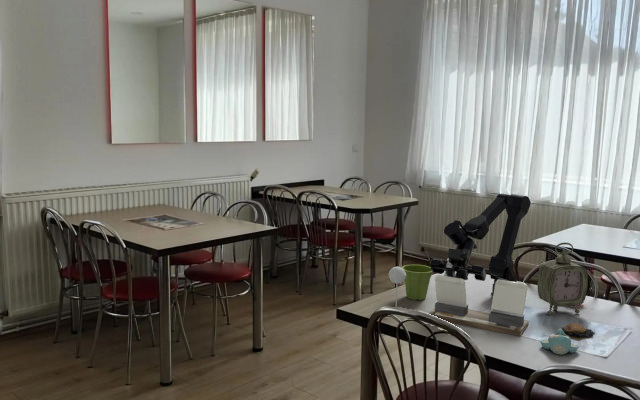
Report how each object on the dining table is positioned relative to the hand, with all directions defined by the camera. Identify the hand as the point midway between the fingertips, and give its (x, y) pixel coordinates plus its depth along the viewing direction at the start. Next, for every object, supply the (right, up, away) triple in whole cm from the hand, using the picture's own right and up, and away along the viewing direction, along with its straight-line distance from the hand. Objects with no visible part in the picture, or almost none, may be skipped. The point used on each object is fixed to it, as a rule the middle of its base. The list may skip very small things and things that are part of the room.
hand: (450, 290), depth 196 cm
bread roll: (+37, -13, -12) cm, 41 cm away
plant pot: (-8, -6, +22) cm, 24 cm away
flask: (+9, -4, +41) cm, 43 cm away
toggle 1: (+1, -5, +1) cm, 5 cm away
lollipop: (-17, -8, +10) cm, 21 cm away
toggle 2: (+16, -6, -8) cm, 19 cm away
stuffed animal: (+26, -14, -25) cm, 39 cm away
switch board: (+8, -10, -3) cm, 13 cm away
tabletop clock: (+40, -9, +8) cm, 42 cm away
